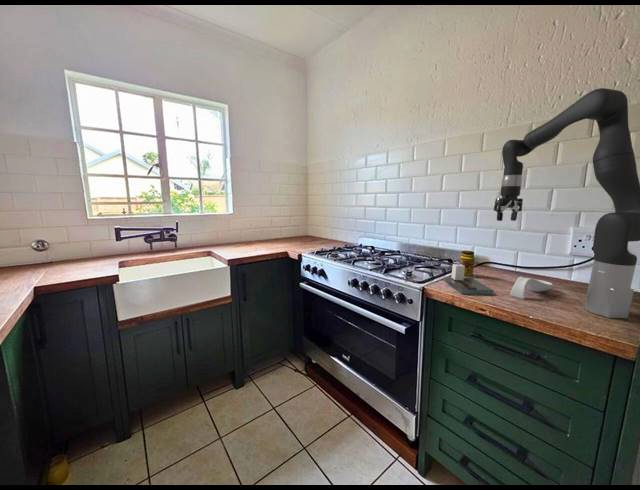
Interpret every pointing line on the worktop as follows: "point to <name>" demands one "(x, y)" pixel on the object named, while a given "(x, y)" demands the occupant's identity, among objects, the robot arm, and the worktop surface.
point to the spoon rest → (528, 286)
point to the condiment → (467, 263)
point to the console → (469, 286)
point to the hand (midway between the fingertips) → (506, 220)
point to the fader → (458, 272)
